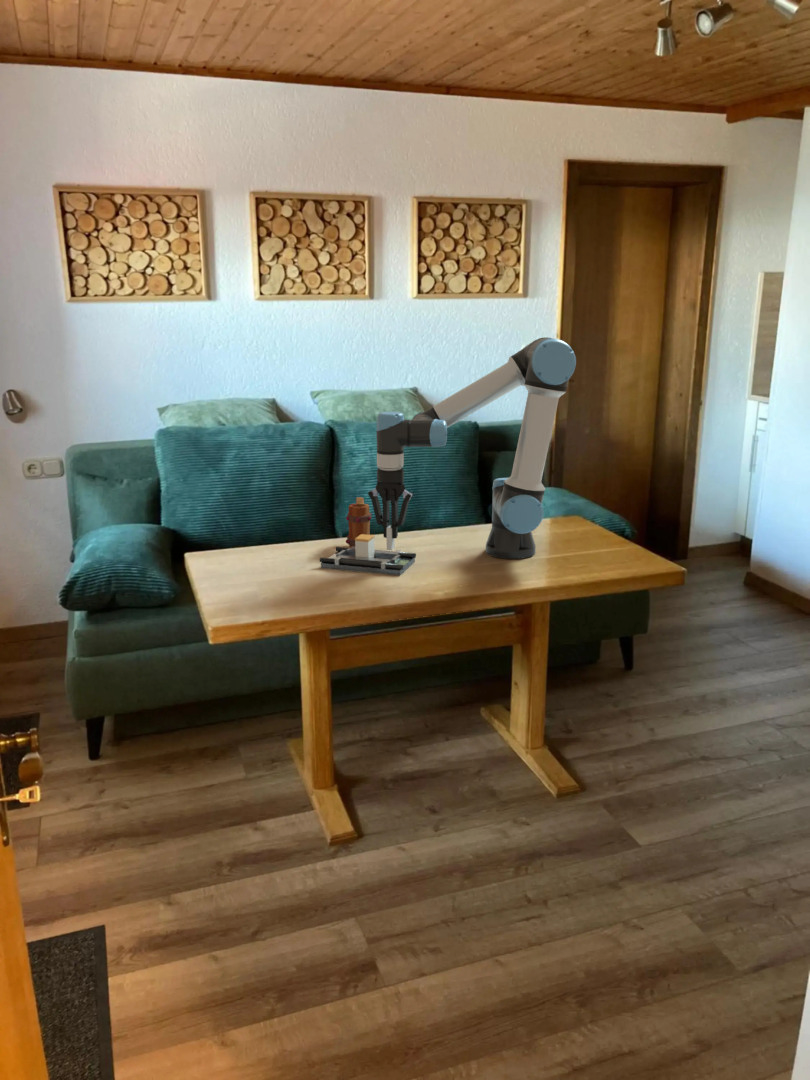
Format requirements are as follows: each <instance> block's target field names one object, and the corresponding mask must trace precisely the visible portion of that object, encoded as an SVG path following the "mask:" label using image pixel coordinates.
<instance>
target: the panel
mask: <svg viewBox="0 0 810 1080" xmlns="http://www.w3.org/2000/svg"><path fill="white" fill-rule="evenodd" d="M335 551H336V552H335V553H333V554H331V555H330V556H329V557H321V556H320V557H319V563H320V568H321V569H326V570H337V571H338V570H339V571H345V572H347V571H348V572H356V573H358V572H359V573H366V574H367V573H369V574H370V573H371V574H376V575H377V574H378V575H379V574H380V575H387V576H388V575H390V576H397V577H398V576H399V577H400V576H402V574H403V573H405V572H406V570H408V569H409V568H410V567H411V566H412V565H413V564H414V563H415V562H416V558H417V553H416V552H404V551H401V550H400V549H397V550H395V551H393V550H382V549H381V550H380V549H374V556H375V557H374V558H366V557H356V553H355V546H352V547H351V548H349V547H348V546H347V547H345V546H336V547H335Z"/></svg>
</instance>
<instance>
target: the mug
mask: <svg viewBox="0 0 810 1080" xmlns="http://www.w3.org/2000/svg"><path fill="white" fill-rule="evenodd" d="M372 515H373V514H372V513H371V512H370V505H369V504H367V503H365V500H364V497H361V496H360V497H359V496H358V497H356V499H355V503H351V504H349V505H348V512H347V514H346V517H345V520H346V521H348V535H347V536H346V540H345V543H346V544H347V545H349V547H348V548H351V547H352V546H355V538H357V537H358V536H359V535H361V534H365V535H372V534H371V533H370V529H371V526H370V525H371V520H372Z"/></svg>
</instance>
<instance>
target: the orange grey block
mask: <svg viewBox="0 0 810 1080" xmlns="http://www.w3.org/2000/svg"><path fill="white" fill-rule="evenodd" d="M374 550H375V534H371V535H365V534H361V535H359V536H358V537H357V538H355V553H356V557H366V558H374V557H375V556H374Z"/></svg>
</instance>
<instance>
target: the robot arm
mask: <svg viewBox="0 0 810 1080" xmlns="http://www.w3.org/2000/svg"><path fill="white" fill-rule="evenodd" d="M576 365H577V357H576V355H575V352H574V350H573V349H572V347H571V346H570V345H569V344H568V343H567V342H565V341H564V340H562V339H559V338H552V337H539V338H536V339H535V340H532V341H531V342H530V343H529V344H527V345H526V346H525V347H523V348H521V349H520V350H519V351H517V352H516V353H514V354H513V355H511V356H509V357H508V361H507V362H506V363H504V364H502V365H501V366H500V367H498V368H496V369H494V370H493V371H491V372H489V373H487V374H486V375H484V376H482V377H480V378H478V379H476V380H475V381H474V382H472V383H470V384H468V385H466V386H465V387H463V388H462V389H460V390H458V391H457V392H455V393H453V394H452V395H449V396H448V397H447V398H445V399H444V400H441V401H440V402H438V403H436V404H434V405H433V406H431V407H430V408H427V409H426V410H424V411H421V412H418V413H416V414H415V415H414V416H413V417H412V419H407V418H406V419H405V415H404V413H403V412H401V411H400V412H399V411H382V412H379V413H378V414H377V416H376V467H377V469H376V485H375V488H374V489H371V490H370V491H368V492H367V495H368V496H369V498H370V499H371V504H372V509H373V512H374V516H375V521H376V523H377V525H380V526H382V527H383V538H385V539H386V551H393V550H394V549H395V544H396V543H395V542H396V541H395V539H397V537H398V531H399V530H398V528H399V527H401V526H402V525H404V524H405V521H406V516H407V512H408V508H409V503H410V501H411V499H412V498H413V496H414V494H413V492H409V491H408V490H407V489H406V486H405V483H404V482H405V481H404V480H405V478H404V477H405V475H404V474H405V473H404V471H405V470H404V468H403V467H404V462H405V457H404V455H405V453H404V452H405V451H404V449H405V448H410V447H412V448H413V447H415V448H417V447H418V448H429V447H430V448H431V447H432V448H439V447H445V446H446V444H447V439H448V428H449V427H451V426H453V425H455V424H456V423H458V422H460V421H461V420H463V419H466V418H467V417H468V416H470V415H471V414H474V413H476V412H477V411H479V410H480V409H482V408H484V407H486V406H487V405H490V404H491V403H492V402H495V400H498V399H499V398H501V397H502V396H504V395H506V394H508V393H510V392H511V391H513V390H515V389H516V388H519V387H520V386H523V387H525V389H526V390H527V397H526V402H525V407H524V412H523V415H522V416H523V417H522V420H521V421H522V422H521V425H520V431H519V437H518V439H517V441H518V442H517V447H516V449H515V450H516V451H515V454H514V455H515V456H514V460H513V466H512V469H511V474H510V476H509V477H499V478H495V479H493V482H492V489H491V490H492V507H491V511H492V512H491V517H492V518H491V528H490V532H489V534H488V537H487V540H486V542H485V553H486V554H487V555H489V556H491V557H494V558H498V559H500V558H501V559H509V560H511V559H512V560H516V559H526V558H530V557H532V556H535V555H536V543H535V540H534V536H533V531H534V530H536V529H537V528H538V527H539V526H540V525H541V523H542V521H543V518H544V507H543V500H544V496H545V491H546V488H545V485H544V484H543V483H542V479H543V476H544V475H543V474H544V469H545V465H546V460H547V455H548V452H549V447H550V442H551V439H552V438H551V437H552V432H553V427H554V422H555V418H556V414H557V410H558V404H559V400H560V398H561V396H563V395H565V394H566V393H567V389H568V385H569V380H570V379H571V377H572V376H573V374H574V373H575V369H576ZM379 496H380V497H381V502H382V508H381V504H380V499H379ZM401 497H402V498H403V501H402V504H401V508H400V512H399V502H400V501H399V499H400V498H401ZM390 506H391V511H390ZM390 512H391V513H390ZM390 515H391V516H390ZM390 519H391V522H390Z"/></svg>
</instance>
